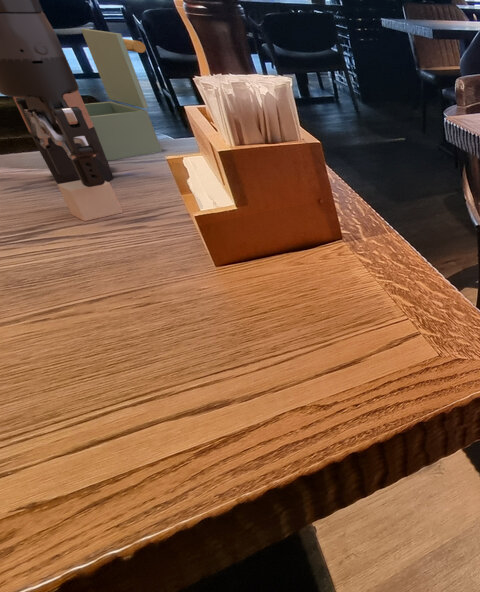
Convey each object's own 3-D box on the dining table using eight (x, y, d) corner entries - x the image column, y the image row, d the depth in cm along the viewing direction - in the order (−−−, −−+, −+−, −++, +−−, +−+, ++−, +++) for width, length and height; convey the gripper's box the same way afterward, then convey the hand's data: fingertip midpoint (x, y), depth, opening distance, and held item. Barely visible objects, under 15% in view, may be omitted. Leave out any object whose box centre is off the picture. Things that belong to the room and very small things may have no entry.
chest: (89, 170, 92) (66, 119, 88) (57, 157, 99) (34, 108, 95) (164, 157, 101) (147, 110, 97) (130, 146, 108) (112, 101, 103)
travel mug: (124, 180, 89) (70, 51, 79) (66, 191, 83) (1, 54, 73) (103, 172, 92) (49, 47, 82) (47, 182, 86) (-19, 49, 77)
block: (84, 221, 73) (69, 190, 71) (71, 214, 75) (56, 184, 73) (123, 212, 76) (110, 182, 74) (109, 206, 78) (96, 176, 76)
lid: (115, 33, 90) (151, 33, 94) (80, 28, 97) (115, 28, 101) (143, 108, 96) (176, 104, 100) (109, 99, 103) (140, 96, 107)
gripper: (-38, 50, 66) (27, 177, 73) (1, 59, 59) (68, 196, 67) (41, 48, 71) (94, 165, 79) (84, 55, 65) (137, 182, 73)
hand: (82, 179), depth 73 cm, fingers open, 8 cm apart
